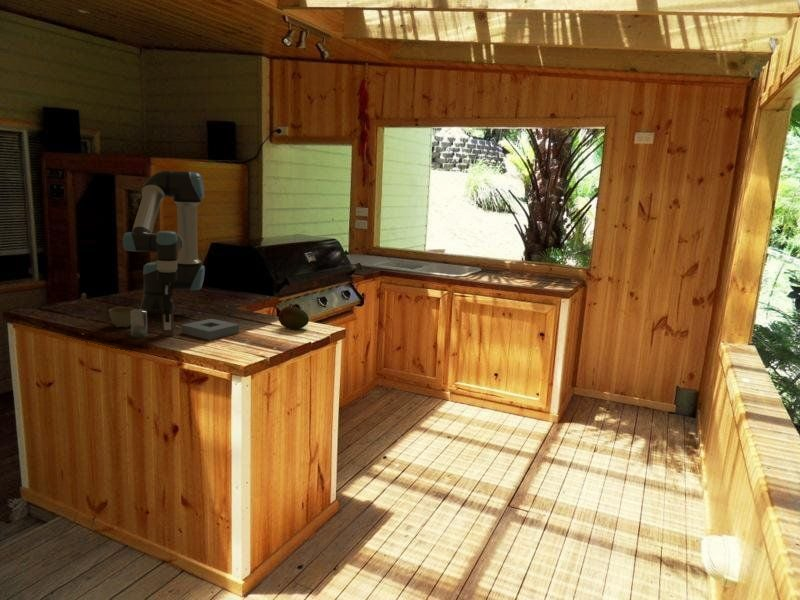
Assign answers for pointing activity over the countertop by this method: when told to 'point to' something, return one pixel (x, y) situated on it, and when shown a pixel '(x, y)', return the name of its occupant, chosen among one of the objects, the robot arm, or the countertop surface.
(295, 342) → the countertop surface
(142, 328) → the round bit
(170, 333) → the wooden square peg
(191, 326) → the socket plate
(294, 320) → the fruit
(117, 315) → the flower pot
